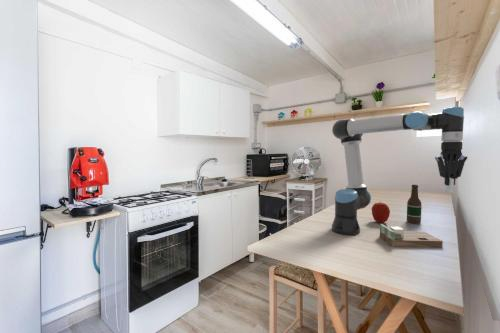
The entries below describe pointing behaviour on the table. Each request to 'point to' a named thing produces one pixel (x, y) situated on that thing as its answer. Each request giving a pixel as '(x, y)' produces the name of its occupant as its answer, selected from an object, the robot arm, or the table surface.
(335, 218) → the robot arm
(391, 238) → the board
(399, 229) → the ivory block
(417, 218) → the beer bottle
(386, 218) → the apple
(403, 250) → the table surface
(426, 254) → the table surface
